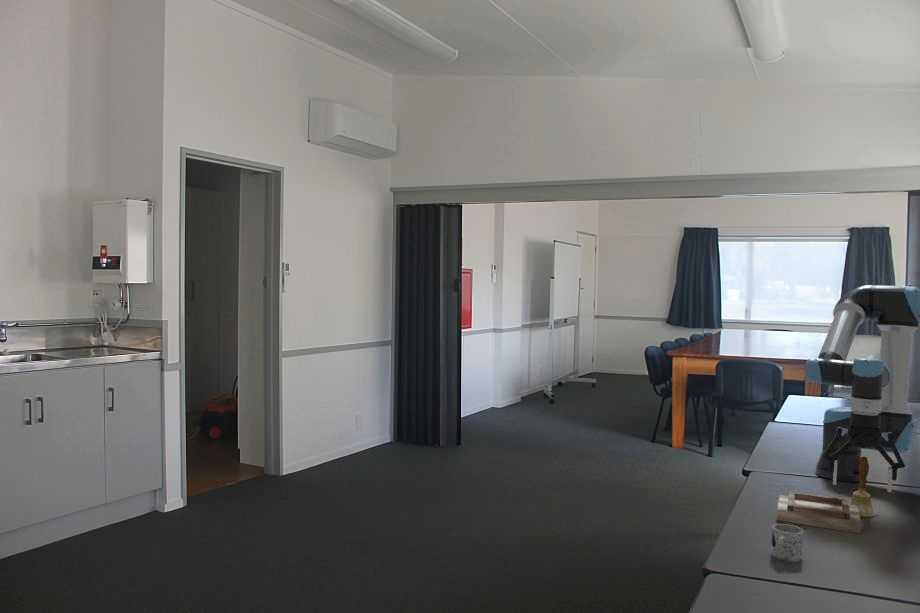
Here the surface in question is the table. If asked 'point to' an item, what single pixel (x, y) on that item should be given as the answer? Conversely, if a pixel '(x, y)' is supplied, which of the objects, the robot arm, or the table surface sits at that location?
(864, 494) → the hand bell
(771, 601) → the table surface
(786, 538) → the mug
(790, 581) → the table surface
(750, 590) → the table surface
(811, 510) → the stand
